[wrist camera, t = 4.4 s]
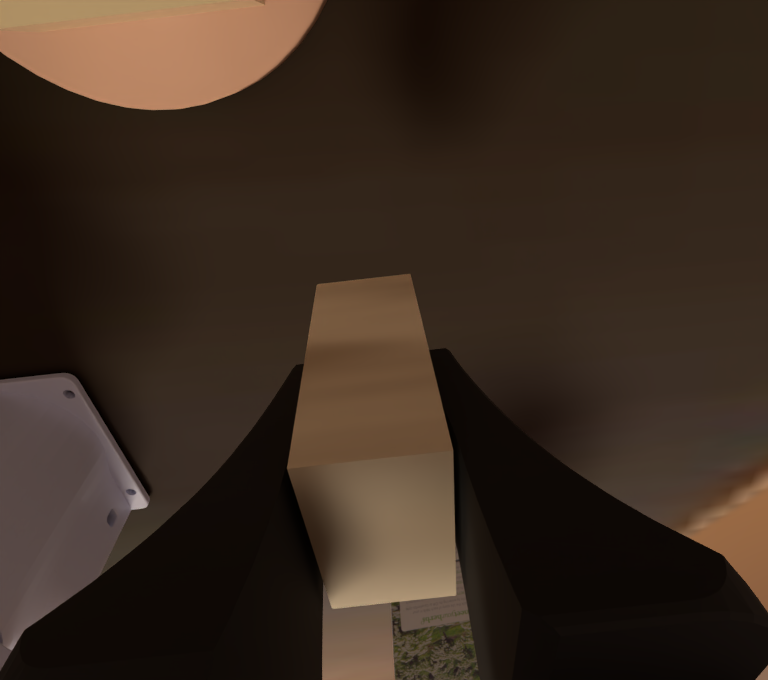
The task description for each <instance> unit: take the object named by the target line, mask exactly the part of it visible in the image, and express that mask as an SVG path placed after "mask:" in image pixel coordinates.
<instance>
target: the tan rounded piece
mask: <svg viewBox="0 0 768 680" xmlns="http://www.w3.org/2000/svg"><path fill="white" fill-rule="evenodd" d="M326 2H327V0H0V52H2V53H3V54H4V55H6V56H7V57H9V58H10V59H12V60H14V61H15V62H17V63H18V64H20V65H22V66H23V67H25V68H26V69H28V70H30V71H31V72H33V73H35V74H36V75H38V76H40V77H42V78H44V79H46V80H48V81H50V82H52V83H54V84H56V85H58V86H60V87H62V88H64V89H66V90H69V91H72V92H74V93H77V94H80V95H83V96H85V97H88V98H91V99H94V100H96V101H100V102H105V103H109V104H113V105H118V106H122V107H127V108H137V109H147V110H168V109H182V108H188V107H193V106H198V105H203V104H207V103H210V102H212V101H215V100H218V99H220V98H223V97H226V96H229V95H231V94H234V93H236V92H239V91H241V90H244V89H246V88H248V87H249V86H251V85H253V84H255V83H256V82H258V81H260V80H262V79H264V78H265V77H266V76H268V75H269V74H270V73H271V72H273V71H274V70H275V69H276V68H278V67H279V66H280V65H282V64H283V63H284V62H285V61H286V60H287V59H288V57H289V56H290V55H291V54H292V53H293V52H294V51H295V50H296V49H297V48H298V47H299V46H300V45H301V43H302V42H303V40H304V39H305V37H306V36H307V35H308V33H309V32H310V30H311V29H312V28H313V26H314V25H315V23H316V21H317V19H318V17H319V16H320V14H321V12H322V10H323V8H324V6H325V4H326Z"/></svg>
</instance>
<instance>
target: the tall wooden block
mask: <svg viewBox="0 0 768 680" xmlns="http://www.w3.org/2000/svg"><path fill="white" fill-rule="evenodd" d="M287 470H288V473H289V477H290V480H291V483H292V486H293V489H294V492H295V495H296V498H297V501H298V504H299V507H300V511H301V514H302V517H303V520H304V523H305V526H306V529H307V532H308V535H309V538H310V542H311V545H312V548H313V551H314V554H315V557H316V560H317V563H318V566H319V569H320V573H321V576H322V579H323V582H324V585H325V588H326V591H327V594H328V597H329V600H330V603H331V607H332V609H335V608H345V607H354V606H363V605H373V604H382V603H391V602H401V601H410V600H419V599H429V598H438V597H447V596H456V555H455V508H454V461H453V447H452V443H451V439H450V435H449V431H448V427H447V423H446V418H445V414H444V410H443V406H442V402H441V398H440V394H439V390H438V386H437V381H436V377H435V373H434V369H433V365H432V361H431V357H430V353H429V349H428V344H427V340H426V336H425V332H424V328H423V324H422V320H421V316H420V312H419V307H418V303H417V299H416V295H415V291H414V287H413V283H412V279H411V275H410V274H404V275H395V276H386V277H377V278H369V279H360V280H351V281H342V282H334V283H325V284H317V287H316V293H315V299H314V305H313V312H312V318H311V324H310V330H309V336H308V342H307V349H306V355H305V361H304V367H303V373H302V379H301V386H300V392H299V398H298V404H297V410H296V416H295V423H294V429H293V435H292V441H291V447H290V453H289V460H288V466H287Z"/></svg>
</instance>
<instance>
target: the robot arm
mask: <svg viewBox="0 0 768 680" xmlns="http://www.w3.org/2000/svg"><path fill="white" fill-rule="evenodd" d="M429 353H430V357H431V361H432V365H433V369H434V373H435V377H436V381H437V386H438V390H439V394H440V398H441V402H442V406H443V410H444V414H445V418H446V423H447V427H448V431H449V435H450V439H451V443H452V447H453V461H454V508H455V543H456V547H457V552H458V557H459V562H460V568H461V573H462V579H463V584H464V590H465V595H466V601H467V607H468V612H469V618H470V624H471V630H472V635H473V641H474V647H475V653H476V659H477V665H478V671H479V677H480V680H755V679H756V678H757V677H758V676H759V675H760V673H761V672H762V671H763V670H764V669H765V668H766V666H767V665H768V612H767V611H766V609H765V608H764V606H763V605H762V604H761V602H760V601H759V599H758V598H757V597H756V595H755V594H754V593H753V591H752V590H751V589H750V587H749V586H748V585H747V583H746V582H745V581H744V580H743V579H742V578H741V576H740V575H739V574H738V573H737V572H736V571H735V570H734V568H733V567H732V566H731V565H730V563H729V562H728V561H727V560H726V559H725V557H724V556H723V555H721V554H720V553H717V552H716V551H713V550H712V549H710V548H708V547H706V546H704V545H702V544H700V543H698V542H695V541H694V540H692V539H690V538H688V537H686V536H684V535H682V534H680V533H678V532H676V531H674V530H672V529H670V528H668V527H666V526H664V525H662V524H660V523H658V522H656V521H654V520H653V519H651V518H649V517H647V516H645V515H644V514H642V513H640V512H639V511H637V510H635V509H633V508H632V507H630V506H628V505H626V504H625V503H623V502H621V501H619V500H618V499H616V498H614V497H613V496H611V495H610V494H608V493H606V492H605V491H603V490H602V489H600V488H599V487H597V486H596V485H594V484H593V483H591V482H590V481H588V480H587V479H585V478H584V477H582V476H581V475H579V474H577V473H576V472H574V471H573V470H571V469H570V468H569V467H567V466H566V465H565V464H563V463H562V462H561V461H559V460H558V459H556V458H555V457H554V456H552V455H551V454H550V453H549V452H547V451H546V450H545V449H544V448H542V447H541V446H540V445H539V444H537V443H536V442H535V441H534V440H532V439H531V438H530V437H529V436H528V435H527V434H525V433H524V432H523V431H522V430H521V429H520V428H519V427H518V426H517V425H515V424H514V423H513V422H512V421H511V420H510V419H509V418H508V417H507V416H506V415H505V414H504V413H503V412H502V411H501V410H500V409H499V408H498V407H497V406H496V405H495V404H494V403H493V402H492V401H491V400H490V399H489V398H488V397H487V396H486V395H485V394H484V393H483V392H482V390H481V389H480V388H479V387H478V386H477V385H476V384H475V383H474V382H473V380H472V379H471V378H470V377H469V376H468V374H467V373H466V372H465V371H464V369H463V368H462V367H461V366H460V364H459V363H458V362H457V360H456V359H455V358H454V356H453V355H452V353H451V352H450V351H449V350H447V349H446V348H444V349H435V350H429ZM303 367H304V364H300V365H296V366H295V367H294V368H293V369H292V371H291V372H290V374H289V376H288V377H287V379H286V380H285V382H284V383H283V385H282V387H281V388H280V390H279V391H278V393H277V394H276V396H275V397H274V399H273V400H272V402H271V403H270V405H269V406H268V407H267V409H266V410H265V412H264V413H263V414H262V416H261V417H260V419H259V420H258V422H257V423H256V424H255V426H254V427H253V428H252V430H251V431H250V432H249V434H248V435H247V436H246V437H245V439H244V440H243V441H242V442H241V444H240V445H239V446H238V447H237V449H236V450H235V451H234V452H233V454H232V455H231V456H230V457H229V458H228V460H227V461H226V462H225V463H224V464H223V465H222V466H221V468H220V469H219V470H218V471H217V472H216V473H215V474H214V475H213V476H212V478H211V479H210V480H209V481H208V482H207V483H206V484H205V485H204V486H203V487H202V488H201V489H200V490H199V491H198V492H197V493H196V494H195V495H194V496H193V497H192V498H191V499H190V500H189V501H188V502H187V503H186V504H185V505H184V506H182V507H181V508H180V509H179V510H178V511H177V512H176V513H175V514H174V515H173V516H172V517H171V518H169V519H168V520H167V521H166V522H165V523H164V524H163V525H162V526H161V527H160V528H159V529H157V530H156V531H155V532H154V533H153V534H152V535H151V536H149V537H148V538H147V539H146V540H145V541H143V542H142V543H141V544H140V545H139V546H137V547H136V548H135V549H134V550H133V551H131V552H130V553H129V554H128V555H126V556H125V557H124V558H123V559H121V560H120V561H119V562H117V563H116V564H115V565H114V566H112V567H111V568H110V569H109V570H107V571H106V572H105V573H103V574H102V575H101V576H100V573H101V571H102V569H103V567H104V565H105V563H106V561H107V559H108V557H109V555H110V553H111V551H112V549H113V547H114V545H115V542H116V540H117V538H118V536H119V534H120V532H121V530H122V528H123V526H124V524H125V522H126V520H127V518H128V516H129V514H130V512H131V510H134V509H142V508H145V507H147V506H148V504H149V501H150V497H149V496H148V494H147V492H146V491H145V489H144V487H143V486H142V484H141V482H140V481H139V479H138V478H137V476H136V474H135V473H134V471H133V469H132V468H131V466H130V464H129V463H128V461H127V459H126V458H125V456H124V454H123V453H122V451H121V449H120V448H119V446H118V444H117V443H116V441H115V440H114V438H113V436H112V435H111V433H110V431H109V430H108V428H107V426H106V425H105V423H104V421H103V420H102V418H101V416H100V415H99V413H98V411H97V410H96V408H95V407H94V405H93V403H92V402H91V400H90V398H89V397H88V395H87V393H86V392H85V390H84V388H83V387H82V385H81V383H80V382H79V380H78V379H77V378H76V377H75V376H73V375H72V374H69V373H57V374H48V375H39V376H30V377H21V378H12V379H3V380H0V680H322V616H323V579H322V576H321V573H320V569H319V566H318V563H317V560H316V557H315V554H314V551H313V548H312V545H311V542H310V538H309V535H308V532H307V529H306V526H305V523H304V520H303V517H302V514H301V511H300V507H299V504H298V501H297V498H296V495H295V492H294V489H293V486H292V483H291V480H290V477H289V473H288V470H287V466H288V460H289V453H290V447H291V441H292V435H293V429H294V423H295V416H296V410H297V404H298V398H299V392H300V386H301V379H302V373H303ZM69 390H70V391H72V392H73V393H72V392H70V391H69Z"/></svg>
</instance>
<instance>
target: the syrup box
mask: <svg viewBox="0 0 768 680" xmlns="http://www.w3.org/2000/svg"><path fill="white" fill-rule="evenodd" d="M455 555H456V596H447V597H438V598H429V599H419V600H410V601H401V602H391V618H392V635H393V654H394V671H395V680H480V677H479V671H478V665H477V659H476V653H475V647H474V641H473V635H472V630H471V624H470V618H469V612H468V607H467V601H466V595H465V590H464V584H463V579H462V573H461V568H460V562H459V557H458V552H457V547H456V543H455Z"/></svg>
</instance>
